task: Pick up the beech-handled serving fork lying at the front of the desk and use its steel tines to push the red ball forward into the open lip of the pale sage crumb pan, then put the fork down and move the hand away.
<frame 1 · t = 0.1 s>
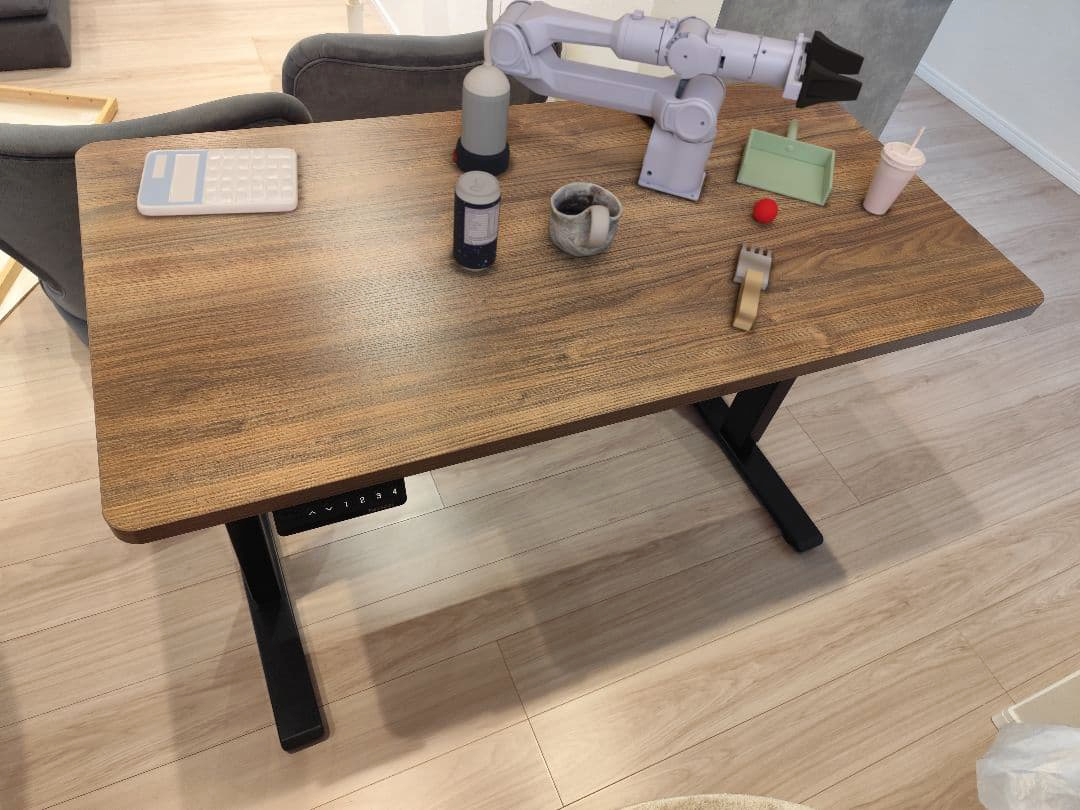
hand: (860, 78, 96), 22 cm above the table, tool horizontal, fingers open, 7 cm apart
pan: (782, 175, 119), on the table
beverage can: (474, 261, 97), on the table
calculator: (223, 186, 101), on the table
smoothie: (873, 208, 116), on the table
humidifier: (482, 163, 112), on the table
fork: (748, 290, 100), on the table
red ball: (765, 210, 109), point 2 cm above the table
multiport hub: (663, 128, 125), on the table
mug: (582, 253, 101), on the table
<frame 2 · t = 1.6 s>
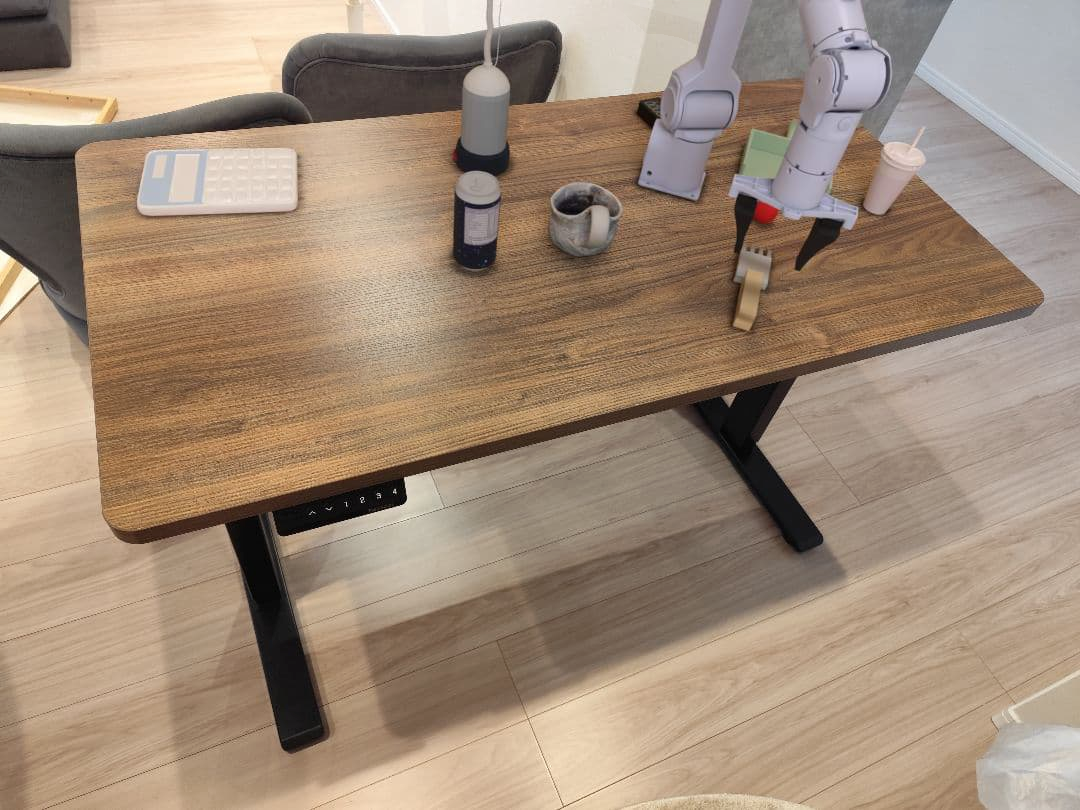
hand: (767, 257, 91), 8 cm above the table, tool pointing down, fingers open, 7 cm apart
nothing on the table moved.
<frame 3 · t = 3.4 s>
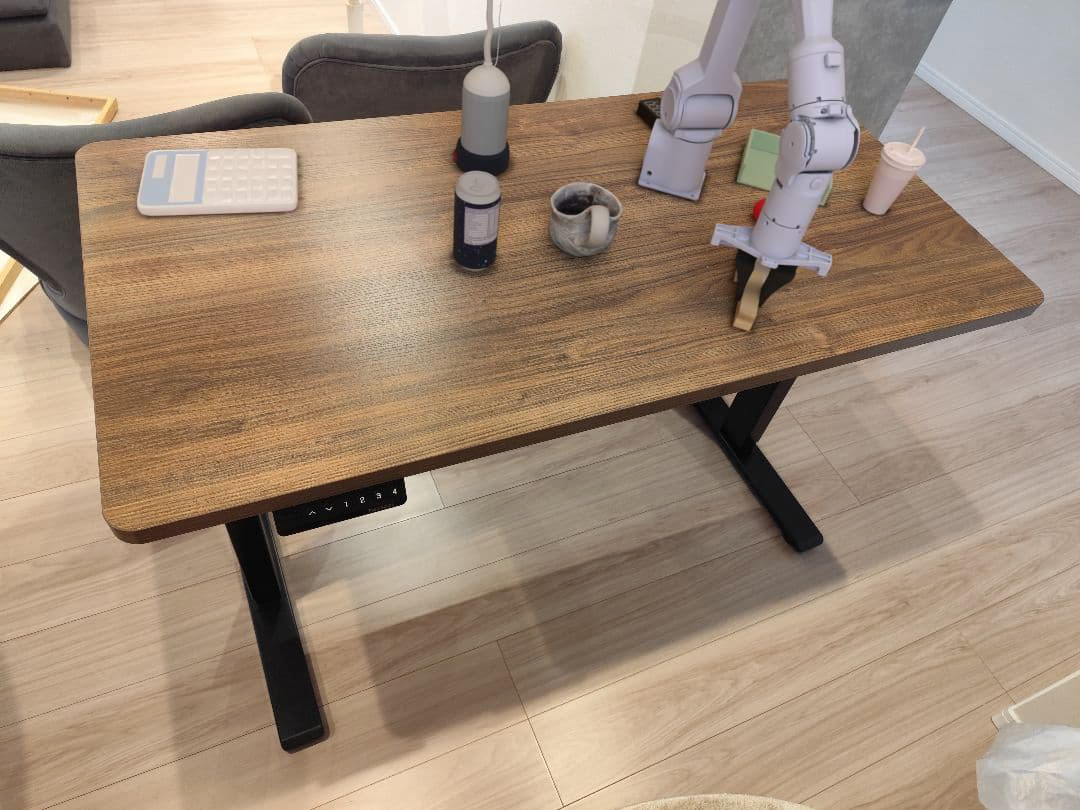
hand: (748, 299, 96), 1 cm above the table, tool pointing down, fingers closed on fork, 2 cm apart
fork: (748, 290, 100), on the table, touching gripper
everything else where it was.
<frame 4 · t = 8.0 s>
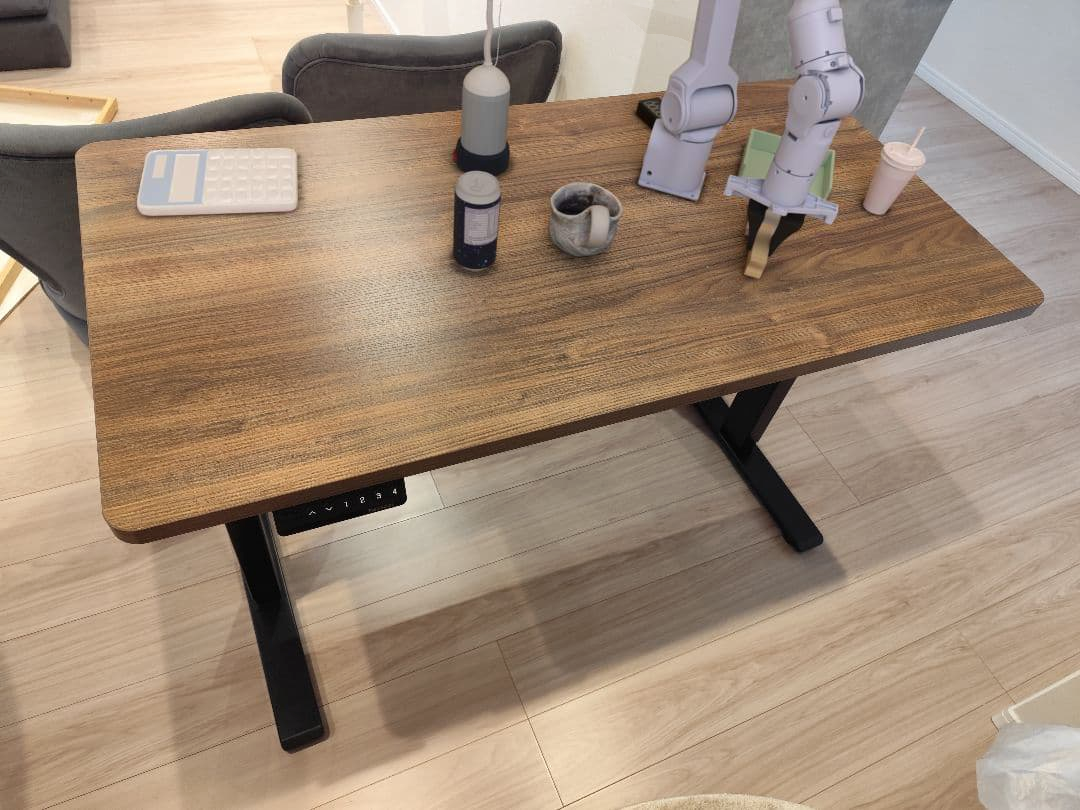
hand: (758, 249, 102), 2 cm above the table, tool pointing down, fingers closed on fork, 2 cm apart
fork: (758, 243, 106), point 1 cm above the table, touching gripper
red ball: (771, 195, 112), point 2 cm above the table, tilted 140°
everything else where it was.
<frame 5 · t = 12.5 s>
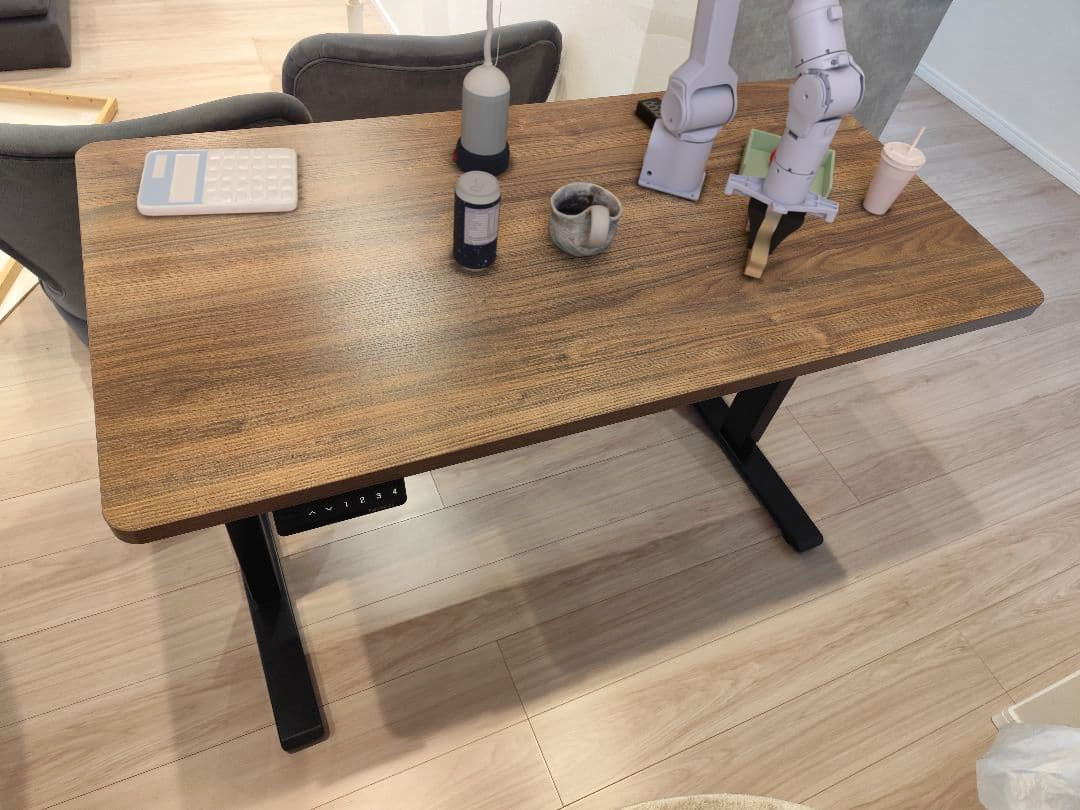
hand: (759, 247, 102), 2 cm above the table, tool pointing down, fingers closed on fork, 2 cm apart
fork: (759, 239, 106), point 1 cm above the table, touching gripper
red ball: (781, 158, 118), point 2 cm above the table, tilted 124°, touching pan
everything else where it was.
when the fingers open (2 cm above the table, at t = 12.9 s): fork stays where it is, on the table.
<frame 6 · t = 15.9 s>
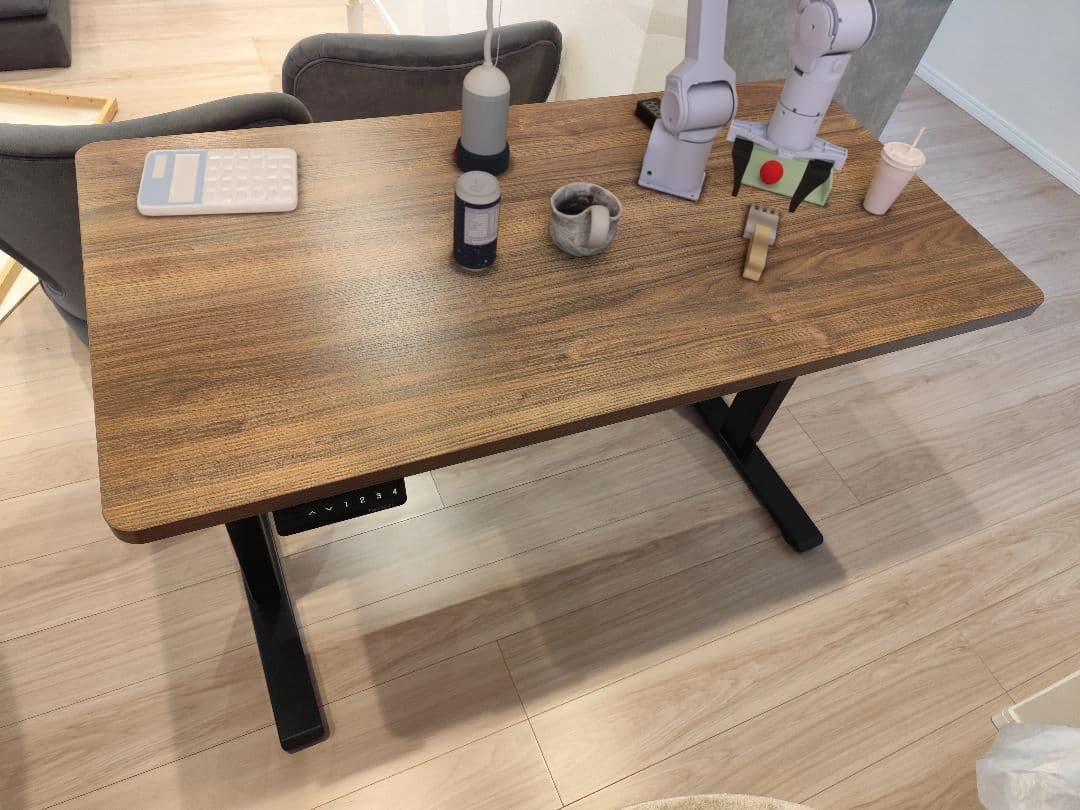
hand: (763, 200, 97), 9 cm above the table, tool pointing down, fingers open, 7 cm apart
fork: (756, 245, 106), on the table
red ball: (771, 172, 115), point 2 cm above the table, tilted 34°, touching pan
everything else where it was.
at the end: red ball inside the target area in the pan (4.2 cm from its centre), point 2.1 cm above the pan's base; fork moved 10.5 cm from its start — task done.
